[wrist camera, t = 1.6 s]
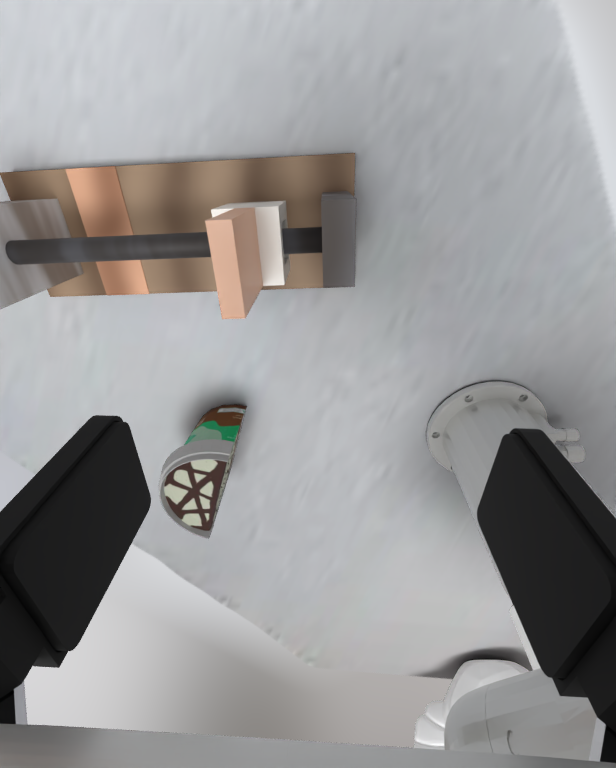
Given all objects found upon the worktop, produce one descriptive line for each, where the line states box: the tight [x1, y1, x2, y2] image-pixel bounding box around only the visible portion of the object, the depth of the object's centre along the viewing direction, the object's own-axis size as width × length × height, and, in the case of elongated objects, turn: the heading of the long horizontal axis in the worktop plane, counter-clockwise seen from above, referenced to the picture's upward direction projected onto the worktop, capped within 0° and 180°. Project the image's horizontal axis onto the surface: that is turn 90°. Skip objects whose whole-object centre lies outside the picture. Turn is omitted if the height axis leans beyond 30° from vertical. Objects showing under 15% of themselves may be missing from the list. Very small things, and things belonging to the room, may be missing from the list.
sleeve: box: [205, 201, 290, 319], centre depth 22 cm, size 4×5×11 cm
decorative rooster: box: [413, 660, 529, 750], centre depth 59 cm, size 25×16×25 cm, turn 97°
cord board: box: [0, 153, 356, 309], centre depth 27 cm, size 28×10×12 cm, turn 93°
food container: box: [159, 404, 247, 539], centre depth 39 cm, size 12×6×10 cm, turn 164°
